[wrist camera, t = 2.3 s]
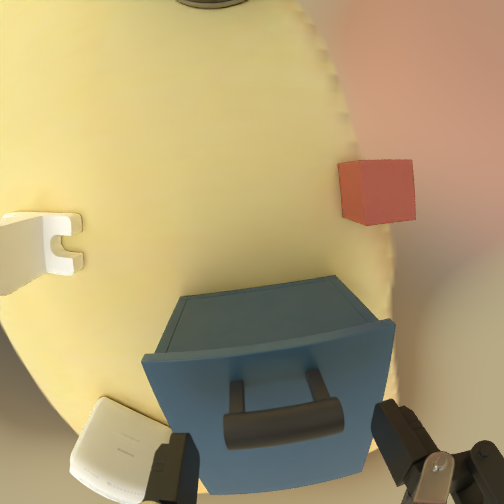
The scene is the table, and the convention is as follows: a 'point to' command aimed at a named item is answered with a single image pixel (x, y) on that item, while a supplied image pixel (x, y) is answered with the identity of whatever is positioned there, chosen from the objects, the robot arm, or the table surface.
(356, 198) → the block
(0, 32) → the table surface
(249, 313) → the box
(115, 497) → the photo printer
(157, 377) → the freezer lid
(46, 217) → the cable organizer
